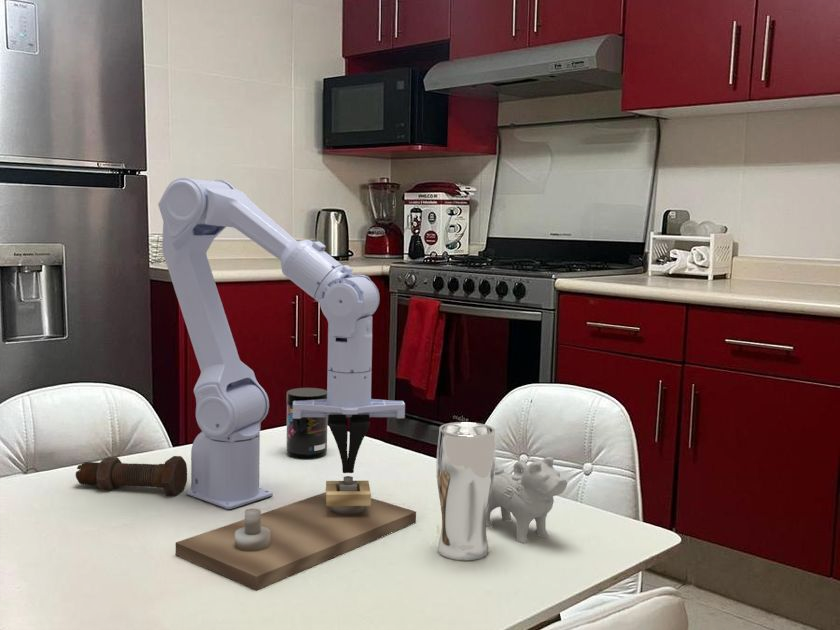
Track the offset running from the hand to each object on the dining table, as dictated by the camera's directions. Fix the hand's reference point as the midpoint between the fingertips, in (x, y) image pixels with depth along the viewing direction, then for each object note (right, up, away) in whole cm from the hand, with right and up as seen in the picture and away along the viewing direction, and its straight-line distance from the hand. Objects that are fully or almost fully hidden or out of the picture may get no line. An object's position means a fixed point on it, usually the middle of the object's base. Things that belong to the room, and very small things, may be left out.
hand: (347, 470), depth 114 cm
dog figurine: (+22, -7, -4) cm, 24 cm away
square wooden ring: (0, -3, -2) cm, 4 cm away
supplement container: (-9, -3, +29) cm, 30 cm away
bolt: (-32, -5, +9) cm, 33 cm away
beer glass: (+15, -8, -10) cm, 20 cm away
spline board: (-5, -7, -8) cm, 11 cm away
